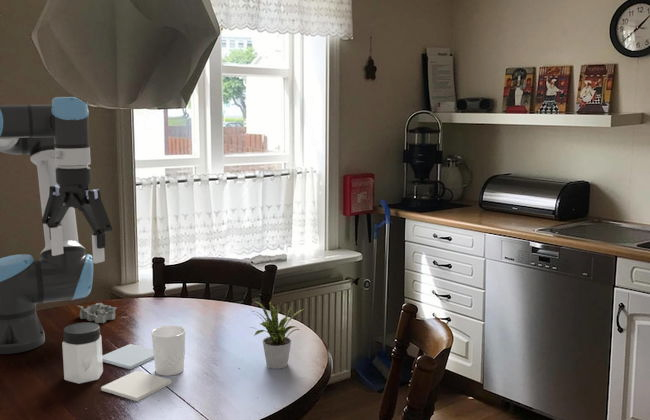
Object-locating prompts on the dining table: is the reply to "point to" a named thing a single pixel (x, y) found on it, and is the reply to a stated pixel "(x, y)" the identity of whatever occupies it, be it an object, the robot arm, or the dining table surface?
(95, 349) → the jar
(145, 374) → the tile shorter
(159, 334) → the white cup
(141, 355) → the light grey square tile
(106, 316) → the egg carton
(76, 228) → the robot arm
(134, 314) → the dining table surface
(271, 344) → the house plant
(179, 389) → the dining table surface
